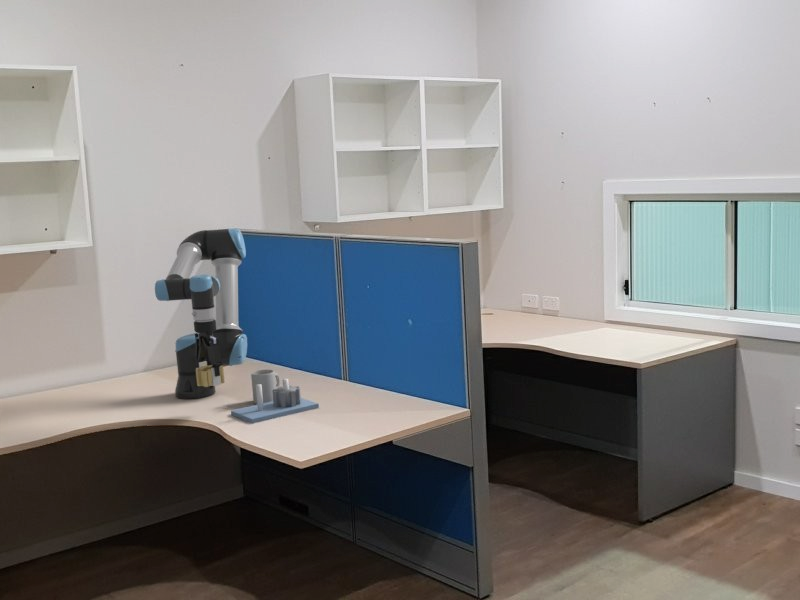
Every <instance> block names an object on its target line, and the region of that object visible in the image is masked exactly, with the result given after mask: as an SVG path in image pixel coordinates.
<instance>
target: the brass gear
mask: <svg viewBox="0 0 800 600" xmlns="http://www.w3.org/2000/svg"><path fill="white" fill-rule="evenodd" d="M211 366H212V365H210V366H206V365H205V366H202V367H200V368H196V378H197V386H204V387H208V386H213V379H212V369H211ZM219 367H220V377H221V384H224V383H225V372H224V371H225V370H224V366H222V365H221V366H219ZM215 387H218V385H216V386H215Z"/></svg>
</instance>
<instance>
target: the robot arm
mask: <svg viewBox="0 0 800 600" xmlns="http://www.w3.org/2000/svg"><path fill="white" fill-rule="evenodd" d="M246 254H247V250H246V245H245V239H244V236H243V233H242V232H241V230H240V229H238V228H225V229H224V228H222V229H221V228H220V229H208V230H205V229H204V230H198V231H196V232H194V233H192V234H190V235H189V236H187V237H185V239H183V240H182V241H181V243H179V246H178V247H177V250H176V258H175V260H174V261H173V264H172V266H171V268H170V270H169V272H168V274H167V276H166V277H165V279H164V278H163V279H158V280H157V281H155V283H154V295H155V297H156V299H157V300H158V301H160V302H161V301H164V302H166V301H167V302H169V301H171V302H172V301H185V300H191V307H192V308H191V309H192V312H191V315H192V316H193V317H192V318H193V328H194V330H193V331H194V332H195V333H190V334H186V335H184V336H180V337H178V338H177V339H176V341H175V350H174V351H175V356H176V365H177V366H176V367H177V375H178V376H177V381H176V385H175V390H174V393H175V394H174V395H175V398H176V399H183V400H190V399H191V400H192V399H201V398H205V397H209V396H212V395H214V394H215V393H216V387H217V386H220V385H222V383H221V377H220V367H219V366H221V365H222V366H223V367H233V366H238V365H242V364H243V363H244V362H245V360H246V357H247V352H248V337H247V334H244V333H243V332H244V331H243V329H242V328H241V327H240V326H239V272H238V271H239V268H238V267H239V266H240V265H241V264H242V263H243V262H242V259H244V258H246V256H247V255H246ZM200 261H211V262H210V263H211V264H212V266H213V267H214V269H215V276H214V275H210V274H198V275H194V276H191V275H192V273H193V271H194V268H195V266H196V265H198V263H200ZM214 297H215V298H214ZM214 299H215V300H214ZM214 301H215V302H214ZM205 365H206V366H210V365H212V366H211V369H212V379H213V386H208V387H204V386H197V378H196V368H200V367H202V366H205ZM216 385H217V386H216Z"/></svg>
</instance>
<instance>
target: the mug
mask: <svg viewBox="0 0 800 600" xmlns="http://www.w3.org/2000/svg"><path fill="white" fill-rule="evenodd" d="M250 377H251V388H252V399H253V400H252V401H253V404H254V405H257V394H256V385H258V384H261V385H262V395H263V403H267V402H272V401H273V391H272V390H273V389H277V388H278V387H281V382H280V381H281V380H280V379H281V378H280V376H279V374H278V373H276V372H275V370H273V369H260V370H254V371H252V372H251V374H250Z"/></svg>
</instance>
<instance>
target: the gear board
mask: <svg viewBox="0 0 800 600" xmlns="http://www.w3.org/2000/svg"><path fill="white" fill-rule="evenodd" d="M289 384H290V383H289V378H283V379H282V386H280V387H278V388H277V389H273V390H272V391H273V401H272V402H267V403H263V395H262V385H261V384H258V385H256V394H257V404H254V405H250V406H245V407H240V408H237V409H231V410H230V415H231V416H232V417H236V418H239V419H241V420H244V421H245V422H248V423H251V424H255V423H260V422H265V421H269V420H273V419H277V417H278V418H281V416H282V417H285V416H290V415H293V414H297V413H302V412H307V411H311V410H315V409H320V406H319V402H315V401H311V400H309V399H306V398H303V397H301V388H300V386H298V385H297V386H292V385H289ZM272 418H273V419H272Z"/></svg>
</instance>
